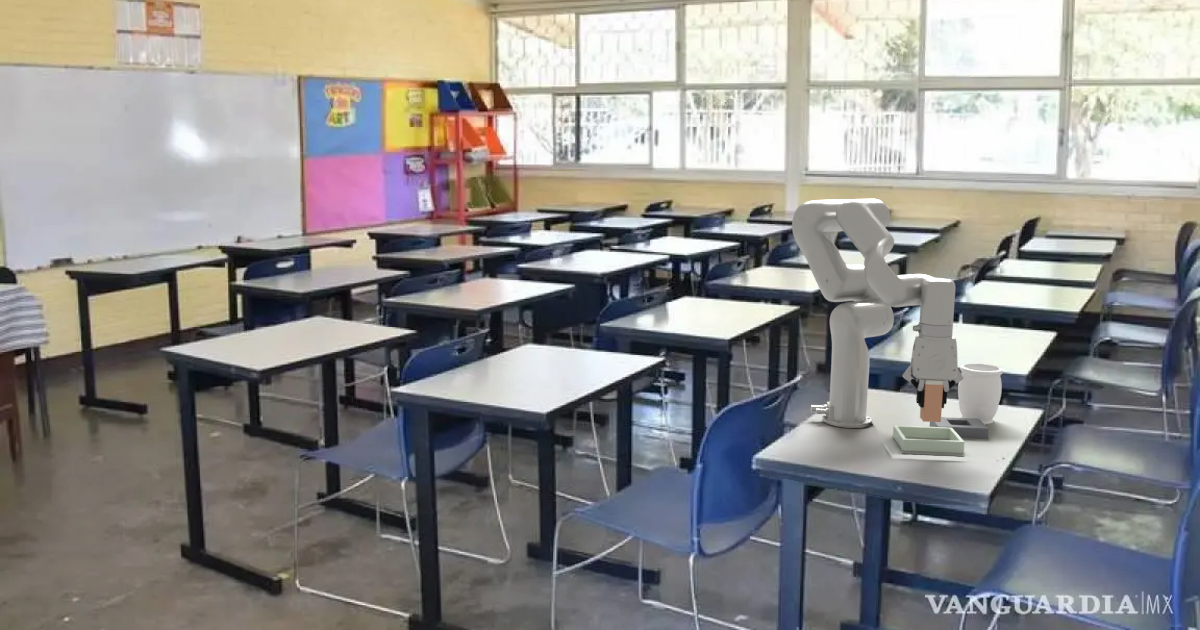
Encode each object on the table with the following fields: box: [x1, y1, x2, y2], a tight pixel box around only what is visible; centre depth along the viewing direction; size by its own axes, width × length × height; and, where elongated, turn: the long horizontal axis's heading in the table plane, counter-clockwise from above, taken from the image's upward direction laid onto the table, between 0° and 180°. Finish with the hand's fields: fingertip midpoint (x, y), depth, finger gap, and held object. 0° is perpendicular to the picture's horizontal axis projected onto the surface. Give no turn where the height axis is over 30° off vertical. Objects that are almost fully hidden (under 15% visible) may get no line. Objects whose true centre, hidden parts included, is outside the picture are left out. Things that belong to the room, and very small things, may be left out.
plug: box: [919, 379, 943, 423], centre depth 245 cm, size 4×4×10 cm
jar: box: [957, 363, 1004, 425], centre depth 269 cm, size 11×10×15 cm
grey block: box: [929, 416, 990, 439], centre depth 258 cm, size 12×9×4 cm
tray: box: [892, 425, 965, 458], centre depth 247 cm, size 14×12×4 cm
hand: (931, 405), depth 246 cm, fingers closed on plug, 4 cm apart
